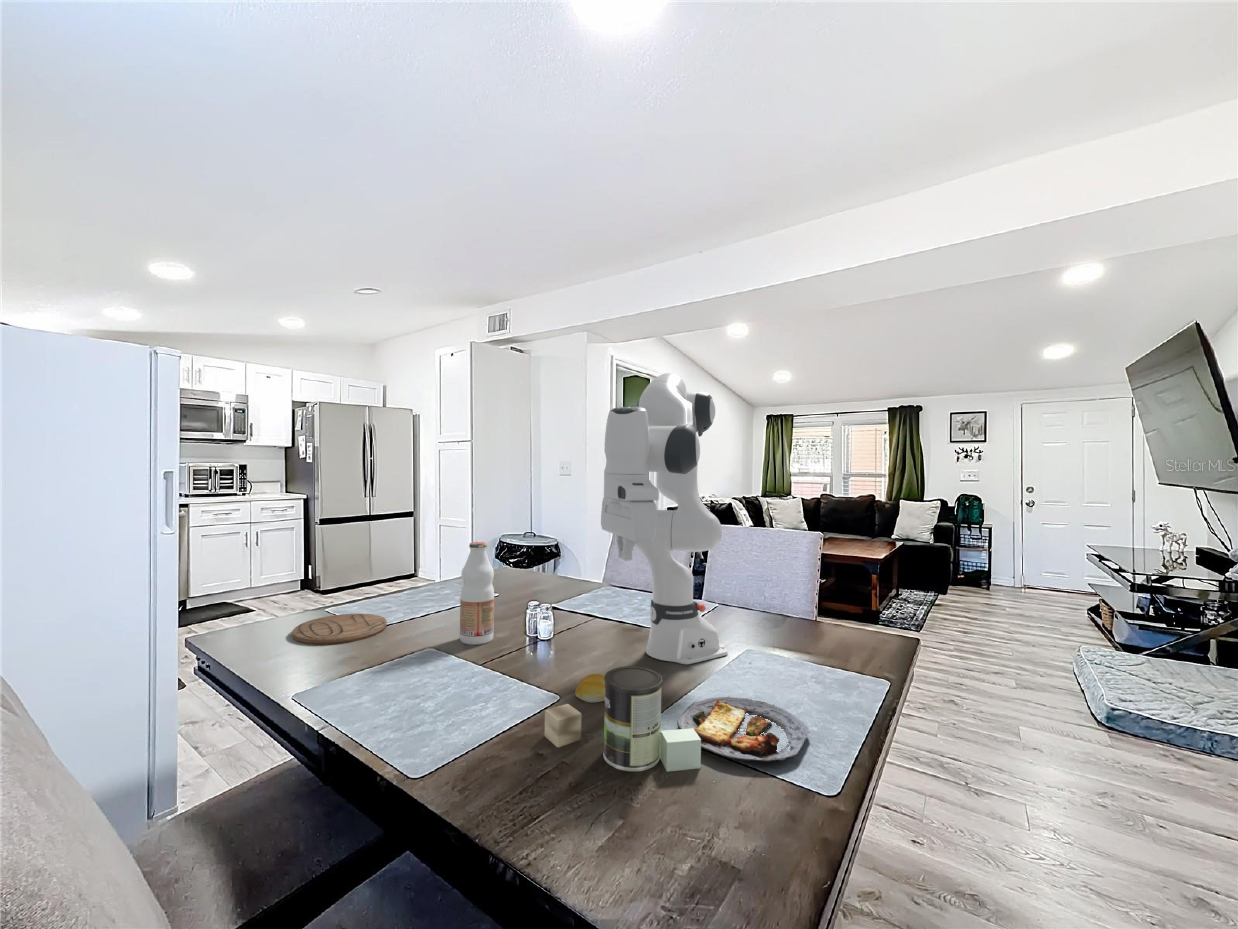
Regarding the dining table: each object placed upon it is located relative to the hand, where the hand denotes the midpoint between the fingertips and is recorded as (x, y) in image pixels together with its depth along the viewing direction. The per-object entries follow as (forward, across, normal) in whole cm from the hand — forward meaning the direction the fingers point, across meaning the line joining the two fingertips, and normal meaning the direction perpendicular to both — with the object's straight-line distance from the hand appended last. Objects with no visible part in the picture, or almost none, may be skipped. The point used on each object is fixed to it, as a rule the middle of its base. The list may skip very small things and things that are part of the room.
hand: (625, 559), depth 106 cm
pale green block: (+33, +15, +5) cm, 37 cm away
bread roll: (+34, -16, 0) cm, 37 cm away
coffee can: (+33, +10, -2) cm, 35 cm away
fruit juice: (+33, -61, -21) cm, 73 cm away
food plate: (+34, +10, +21) cm, 41 cm away
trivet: (+34, -82, -58) cm, 106 cm away
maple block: (+33, 0, -12) cm, 35 cm away
